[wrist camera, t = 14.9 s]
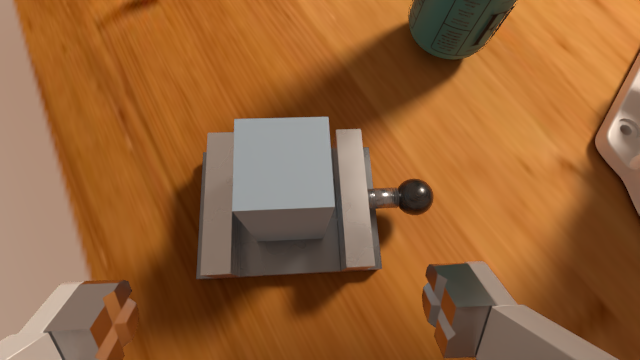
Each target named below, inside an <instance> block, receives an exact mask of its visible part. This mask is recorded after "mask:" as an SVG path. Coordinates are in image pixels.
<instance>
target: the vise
mask: <svg viewBox="0 0 640 360" xmlns="http://www.w3.org/2000/svg"><path fill="white" fill-rule="evenodd" d="M363 154H364V163H365V173H366V183H367V189H373V183H372V174H371V165H370V155H369V147H365V148H363ZM233 158H234V132H225V133H208V139H207V152H203V167H202V185H201V203H200V221H199V239H198V257H197V275H196V279H200V280H207V279H225V278H243V277H261V276H279V275H297V274H315V273H333V272H351V271H369V270H379V269H382V264H381V255H380V246H379V237H378V228H377V219H376V210H375V209H369V211H370V221H371V231H372V240H373V250H374V259H375V266H374V267H371V268H368V269H364V270H345V271H341V260H340V246H339V232H338V219H337V205H336V192H335V178H334V164H333V151H332V149H331V159H332V173H333V187H334V201H335V208H334V211H333V213H332V216H331V218H330V221H329V223H328V226H327V229H326V231H325V234H324V236H323V238H319V239H298V240H278V241H256V239H255V238H254V237H253V236H252V235H251V233H250V232H249V231H248V230H247V228H246V227H245V226H244V225H243V224H242V222H241V221H240V220H239V219H238V218H237V216H236V215H235V214H234V213H233V212H232V198H233Z"/></svg>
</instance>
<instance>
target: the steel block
mask: <svg viewBox="0 0 640 360" xmlns="http://www.w3.org/2000/svg"><path fill="white" fill-rule="evenodd" d="M334 208H335V201H334V187H333V173H332V159H331V145H330V131H329V117H296V118H255V119H234V158H233V198H232V212H233V213H234V214H235V215H236V216H237V218H238V219H239V220H240V221H241V222H242V224H243V225H244V226H245V227H246V228H247V230H248V231H249V232H250V233H251V235H252V236H253V237H254V238H255V239H256V241H278V240H298V239H319V238H323V236H324V234H325V231H326V229H327V226H328V223H329V221H330V218H331V216H332V213H333V211H334Z"/></svg>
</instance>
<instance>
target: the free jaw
mask: <svg viewBox="0 0 640 360" xmlns="http://www.w3.org/2000/svg"><path fill="white" fill-rule="evenodd" d="M332 151H333V164H334V178H335V192H336V205H337V219H338V232H339V246H340V260H341V271H345V270H364V269H368V268H371V267H374V266H375V259H374V250H373V240H372V231H371V221H370V211H369V209H377V208H397V207H398V206H399V208H400V209H401V210H402V211H403V212H405V213H407V214H410V215H420V214H423V213H425V212H426V211H427V210H428V209H429V208H430V207H431V205H432V203H433V192H432V189H431V188H430V186H429V185H428V184H427V183H426V182H424V181H422V180H420V179H409V180H406V181H404V182H403V183H402V184H401V185H400V186H399V187H398V189H397V188H376V189H367V183H366V173H365V163H364V154H363V144H362V135H361V129H337V130H336V132H335V137H334V141H333V146H332Z"/></svg>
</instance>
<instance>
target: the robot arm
mask: <svg viewBox="0 0 640 360" xmlns="http://www.w3.org/2000/svg"><path fill="white" fill-rule="evenodd" d="M595 144H596V147H597V150H598V151H599V153H600V154H601V156H602V157H603V158H604V159H605V161H606V162H607V163H608V164H609V165H610V166H611V168H612V169H613V170H614V171H615V172H616V173H617V174H618V175H619V176H620V177H621V179H622V181H623V182H624V184H625V186H626V188H627V190H628V192H629V195H630V197H631V199H632V202H633V204H634V206H635V208H636V210H637V212H638V214H639V216H640V53H639V55H638V57H637V59H636V61H635V63H634V64H633V66H632V68H631V70H630V72H629V74H628V76H627V78H626V80H625V82H624V84H623V85H622V87H621V89H620V91H619V93H618V95H617V97H616V99H615V101H614V103H613V104H612V106H611V108H610V110H609V112H608V114H607V116H606V118H605V120H604V122H603V124H602V125H601V127H600V129H599V131H598V133H597V135H596V138H595ZM425 276H426V278H427V280H428V283H427V284H426V285H425V286H424V287H423V293H422V302H423V309H424V313H425V316H426V318H427V321H428V322H429V323H430V324H431V325H433V326H434V327H435V328H436V329H435V334H434V337H435V339H436V342H437V344H438V346H439V348H440V351H441V353H442V355H443V358H462V357H476V359H477V360H619V359H617V358H615V357H614V356H612V355H610V354H608V353H607V352H605V351H603V350H601V349H600V348H598V347H596V346H594V345H593V344H591V343H589V342H588V341H586V340H584V339H582V338H581V337H579V336H577V335H575V334H574V333H572V332H570V331H568V330H567V329H565V328H563V327H562V326H560V325H558V324H556V323H555V322H553V321H551V320H549V319H548V318H546V317H544V316H542V315H541V314H539V313H537V312H535V311H534V310H532V309H530V308H529V307H527V306H525V305H518V304H517V303H516V302H515V300H514V299H513V298H512V296H511V295H510V294H509V293H508V291H507V290H506V289H505V287H504V286H503V285H502V283H501V282H500V281H499V280H498V278H497V277H496V276H495V274H494V273H493V272H492V270H491V269H490V268H489V266H488V265H487V264H486V263H485V262H483V261H474V262H464V263H446V264H429V266H428V267H427V270H426V275H425ZM131 292H132V289H131V287H130V284H129V282H128V281H125V280H103V281H85V282H65V283H63V284H61V285H59V286H58V287H57V288H56V290H55V291H54V292H53V293H52V294H51V296H50V297H49V298H48V299H47V300H46V301H45V302H44V304H43V305H42V306H41V307H40V308H39V310H38V311H37V312H36V313H35V314H34V315H33V317H32V318H31V319H30V320H29V321H28V322H27V324H26V325H25V326H24V327H23V328H22V330H21V331H20V332H19V333H18V334H14V335H9V336H8V337H6V338H4V339H3V340H1V341H0V360H123V358H124V356H125V355H124V352H123V349H122V348H123V347H124V346H126V345H127V344H128V343H129V342H131V341H132V340H133V337H134V335H135V333H136V331H137V327H138V322H139V311H138V307H137V304H136V303H135V302H134V301H133V300H131V299H130V298H128V297H129V296H130V294H131Z"/></svg>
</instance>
